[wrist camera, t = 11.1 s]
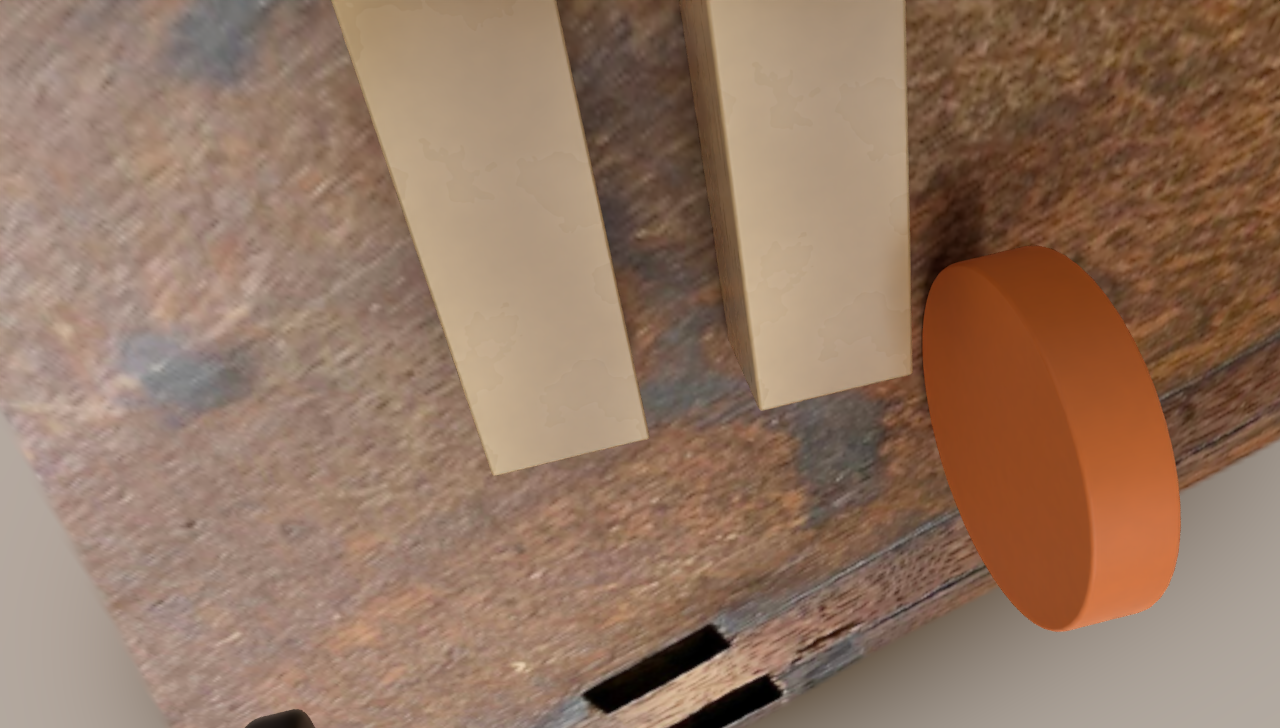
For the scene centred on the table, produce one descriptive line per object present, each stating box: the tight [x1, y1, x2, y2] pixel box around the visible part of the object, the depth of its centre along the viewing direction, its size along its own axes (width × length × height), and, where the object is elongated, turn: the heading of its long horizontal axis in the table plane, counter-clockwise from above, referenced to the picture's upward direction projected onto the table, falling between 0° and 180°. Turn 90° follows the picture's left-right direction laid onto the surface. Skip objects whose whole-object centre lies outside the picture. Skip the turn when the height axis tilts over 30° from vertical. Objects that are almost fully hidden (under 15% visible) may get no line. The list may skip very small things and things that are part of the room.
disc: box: [923, 246, 1181, 632], centre depth 19 cm, size 2×7×7 cm, turn 10°
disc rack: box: [331, 0, 913, 476], centre depth 17 cm, size 8×10×2 cm
